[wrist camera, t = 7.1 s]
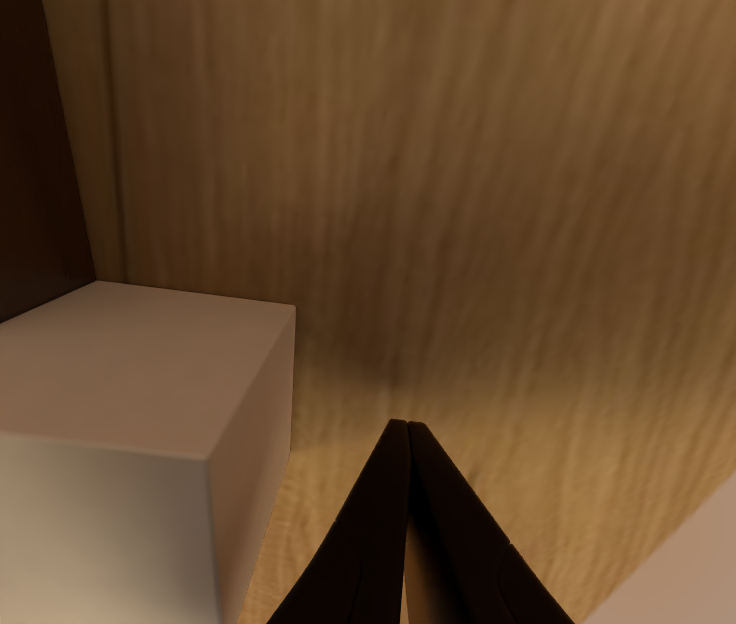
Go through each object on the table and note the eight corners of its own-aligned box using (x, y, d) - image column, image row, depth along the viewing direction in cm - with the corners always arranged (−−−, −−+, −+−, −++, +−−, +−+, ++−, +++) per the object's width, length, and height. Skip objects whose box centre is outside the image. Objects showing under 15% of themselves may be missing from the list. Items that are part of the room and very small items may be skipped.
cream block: (296, 304, 9) (207, 458, 5) (290, 454, 11) (224, 666, 7) (96, 278, 9) (-199, 409, 4) (127, 434, 11) (-55, 632, 6)
